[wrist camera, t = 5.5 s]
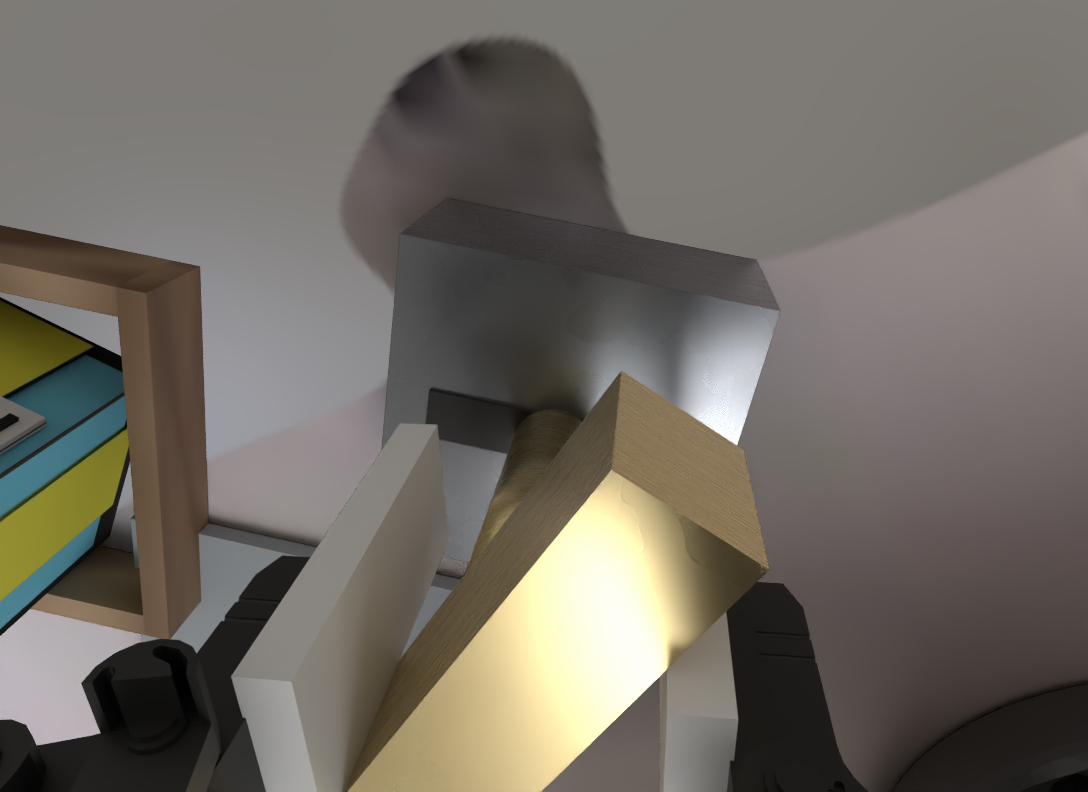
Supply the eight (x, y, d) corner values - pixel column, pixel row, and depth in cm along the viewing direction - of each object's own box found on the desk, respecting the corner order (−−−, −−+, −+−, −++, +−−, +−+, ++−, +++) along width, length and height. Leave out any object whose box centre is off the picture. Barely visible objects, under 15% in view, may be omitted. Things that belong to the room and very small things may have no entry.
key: (630, 257, 15) (607, 469, 8) (715, 314, 15) (774, 574, 8) (418, 553, 19) (264, 889, 11) (489, 595, 19) (385, 950, 12)
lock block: (756, 260, 19) (781, 312, 15) (679, 519, 23) (684, 612, 19) (447, 198, 20) (398, 235, 16) (417, 463, 23) (372, 543, 19)
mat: (557, 600, 25) (555, 613, 24) (496, 868, 31) (494, 882, 30) (141, 508, 25) (130, 518, 25) (163, 788, 31) (155, 801, 31)
